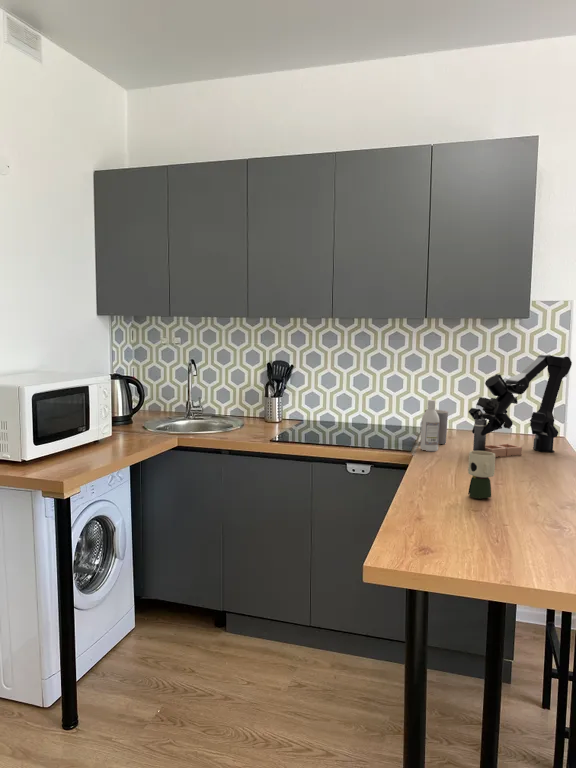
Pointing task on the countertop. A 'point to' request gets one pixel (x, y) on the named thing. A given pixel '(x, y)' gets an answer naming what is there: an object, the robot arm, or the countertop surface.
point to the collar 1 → (496, 450)
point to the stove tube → (479, 435)
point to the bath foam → (430, 428)
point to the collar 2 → (511, 449)
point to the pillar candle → (442, 425)
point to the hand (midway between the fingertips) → (477, 433)
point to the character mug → (481, 473)
